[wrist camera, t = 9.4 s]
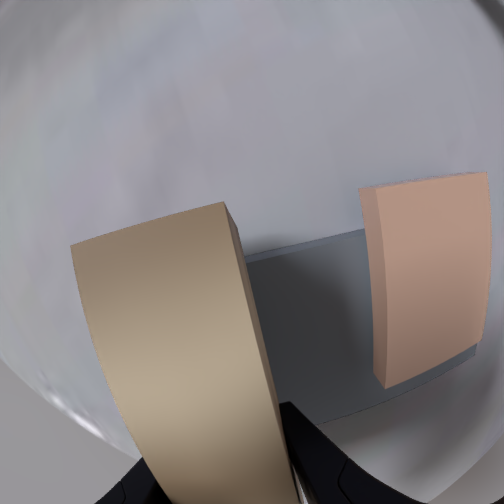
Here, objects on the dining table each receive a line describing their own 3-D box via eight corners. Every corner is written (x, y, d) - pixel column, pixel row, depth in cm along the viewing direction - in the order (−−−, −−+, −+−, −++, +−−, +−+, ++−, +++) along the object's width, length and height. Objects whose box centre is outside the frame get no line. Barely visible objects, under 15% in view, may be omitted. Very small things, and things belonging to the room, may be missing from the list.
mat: (472, 202, 11) (484, 204, 10) (465, 348, 13) (474, 355, 12) (170, 274, 11) (164, 282, 10) (228, 429, 13) (228, 442, 12)
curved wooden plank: (301, 492, 9) (317, 563, 4) (237, 502, 9) (233, 573, 4) (237, 228, 9) (223, 201, 4) (149, 249, 9) (70, 245, 4)
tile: (486, 172, 8) (481, 339, 10) (463, 172, 9) (463, 327, 11) (375, 188, 8) (384, 389, 10) (355, 188, 9) (370, 369, 11)
